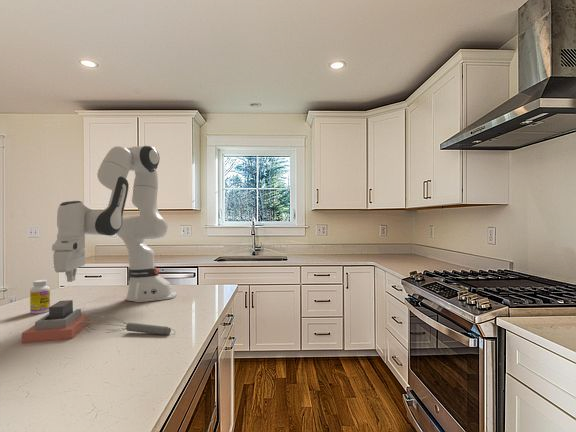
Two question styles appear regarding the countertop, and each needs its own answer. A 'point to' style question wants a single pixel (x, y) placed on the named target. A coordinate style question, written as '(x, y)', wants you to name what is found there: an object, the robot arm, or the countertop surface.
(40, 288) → the supplement bottle
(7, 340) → the countertop surface
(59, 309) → the dark gray eraser
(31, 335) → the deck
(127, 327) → the kitchen whisk
